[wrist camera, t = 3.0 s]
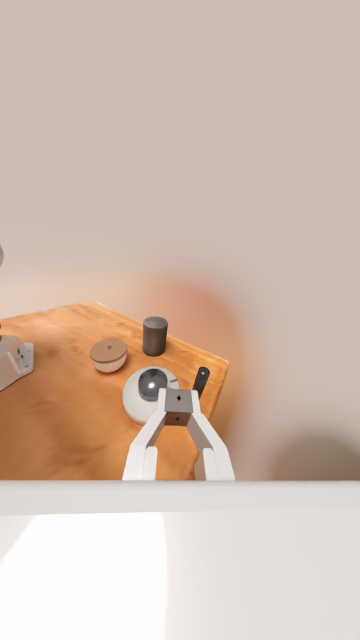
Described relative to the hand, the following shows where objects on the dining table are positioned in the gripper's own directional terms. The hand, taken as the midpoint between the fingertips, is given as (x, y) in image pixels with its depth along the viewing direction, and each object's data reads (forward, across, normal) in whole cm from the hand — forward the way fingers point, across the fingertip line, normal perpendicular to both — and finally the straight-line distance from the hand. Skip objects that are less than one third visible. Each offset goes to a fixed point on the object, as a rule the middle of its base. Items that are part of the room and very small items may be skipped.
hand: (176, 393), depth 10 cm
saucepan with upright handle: (+16, -1, +25) cm, 30 cm away
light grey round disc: (+18, +3, +29) cm, 34 cm away
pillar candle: (+38, +6, +29) cm, 48 cm away
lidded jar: (+27, +19, +29) cm, 44 cm away
